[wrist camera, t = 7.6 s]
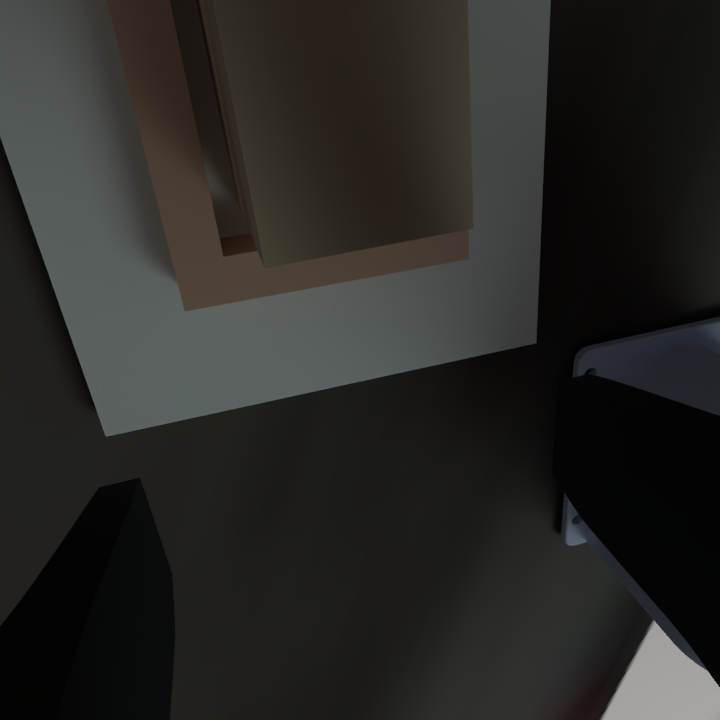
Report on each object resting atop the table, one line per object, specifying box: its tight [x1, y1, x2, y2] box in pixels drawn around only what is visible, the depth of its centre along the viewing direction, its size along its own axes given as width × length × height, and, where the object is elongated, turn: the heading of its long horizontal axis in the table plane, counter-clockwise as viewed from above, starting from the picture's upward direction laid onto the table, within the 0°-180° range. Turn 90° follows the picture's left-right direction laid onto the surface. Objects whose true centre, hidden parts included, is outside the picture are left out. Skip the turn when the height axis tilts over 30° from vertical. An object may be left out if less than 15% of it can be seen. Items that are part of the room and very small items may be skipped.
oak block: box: [196, 0, 473, 268], centre depth 12 cm, size 4×6×6 cm, turn 7°
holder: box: [0, 0, 551, 437], centre depth 15 cm, size 18×14×3 cm
